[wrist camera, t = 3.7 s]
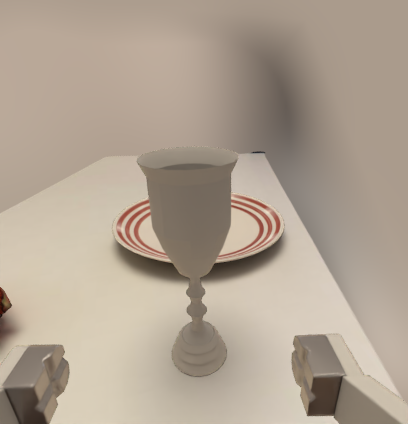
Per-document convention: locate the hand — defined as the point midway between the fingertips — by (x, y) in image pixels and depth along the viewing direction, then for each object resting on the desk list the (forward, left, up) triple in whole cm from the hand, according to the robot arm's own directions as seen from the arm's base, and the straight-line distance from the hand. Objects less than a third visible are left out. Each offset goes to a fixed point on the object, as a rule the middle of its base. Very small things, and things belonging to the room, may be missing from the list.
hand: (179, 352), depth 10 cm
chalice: (0, -12, -14) cm, 18 cm away
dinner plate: (0, -36, -14) cm, 39 cm away
